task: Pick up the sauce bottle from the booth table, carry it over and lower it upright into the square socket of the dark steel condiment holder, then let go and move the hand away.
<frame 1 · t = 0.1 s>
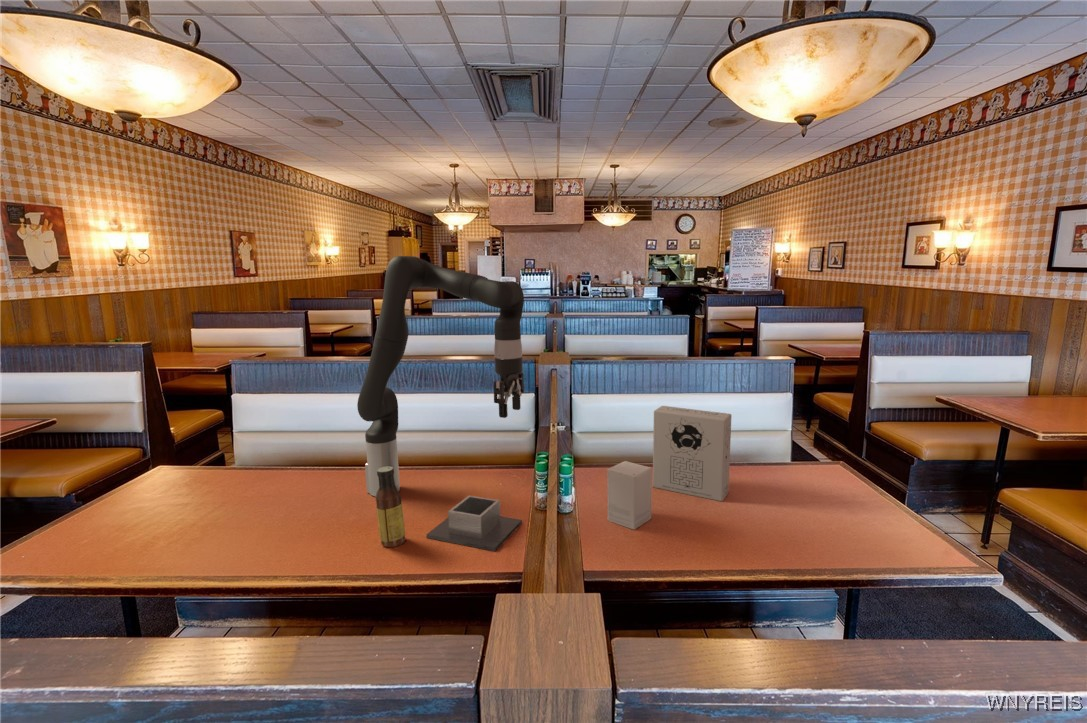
hand: (510, 413, 148), 29 cm above the table, tool pointing down, fingers open, 8 cm apart
condiment holder: (475, 530, 142), on the table
cereal box: (689, 490, 166), on the table
sauce bottle: (392, 543, 137), on the table
supplement box: (629, 520, 147), on the table
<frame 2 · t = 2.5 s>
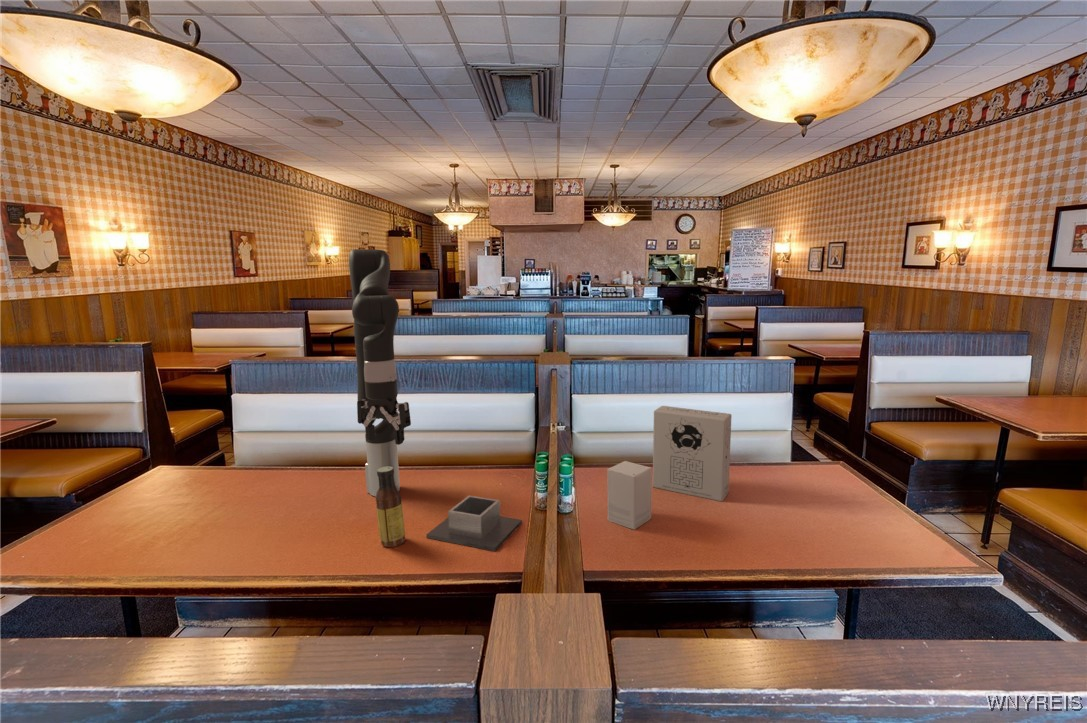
hand: (385, 442, 132), 27 cm above the table, tool pointing down, fingers open, 8 cm apart
nothing on the table moved.
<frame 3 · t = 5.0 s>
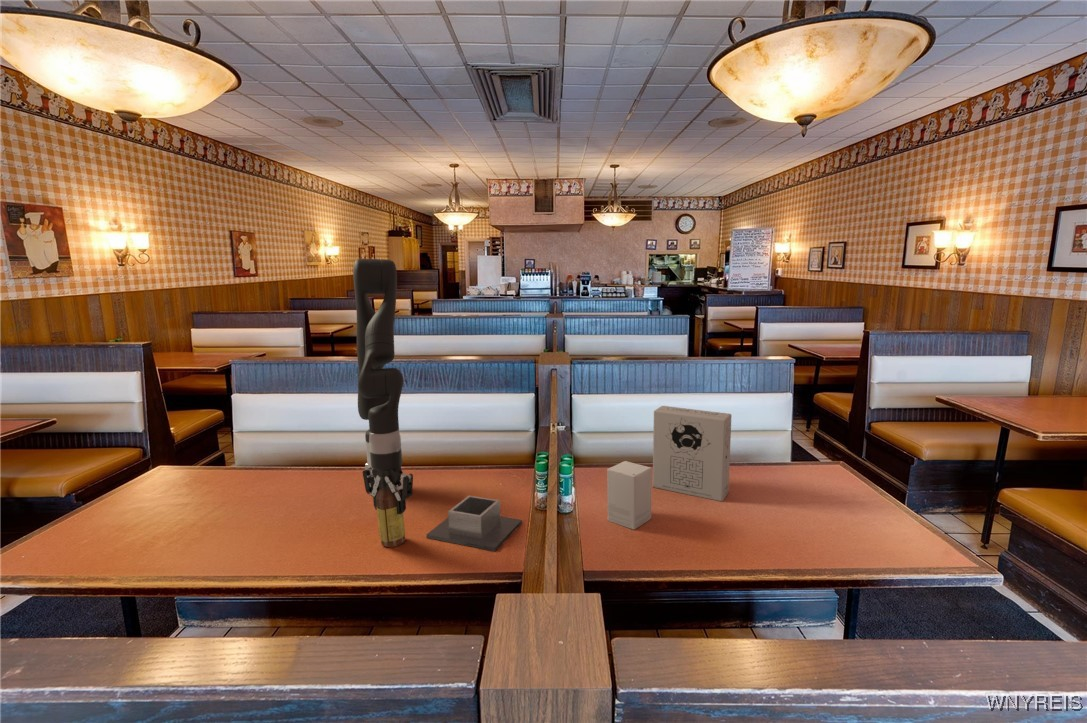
hand: (390, 510, 135), 9 cm above the table, tool pointing down, fingers closed on sauce bottle, 6 cm apart
sauce bottle: (392, 543, 137), on the table, touching gripper
everything else where it was.
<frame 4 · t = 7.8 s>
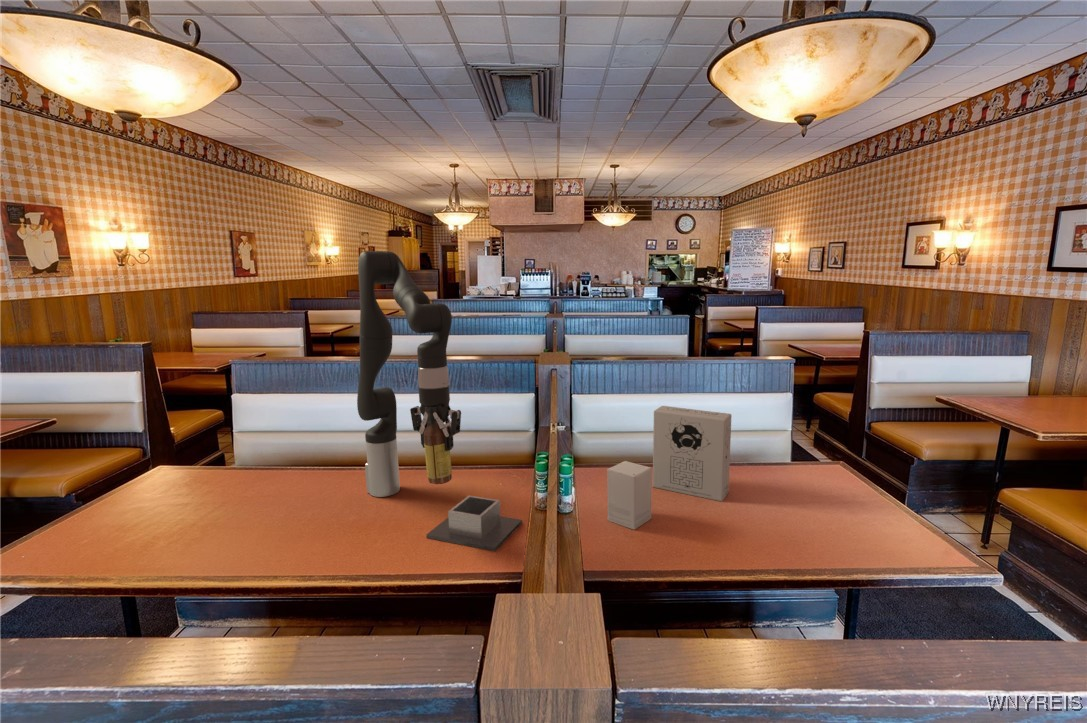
hand: (437, 448, 136), 24 cm above the table, tool pointing down, fingers closed on sauce bottle, 6 cm apart
sauce bottle: (439, 481, 137), point 15 cm above the table, touching gripper
everything else where it was.
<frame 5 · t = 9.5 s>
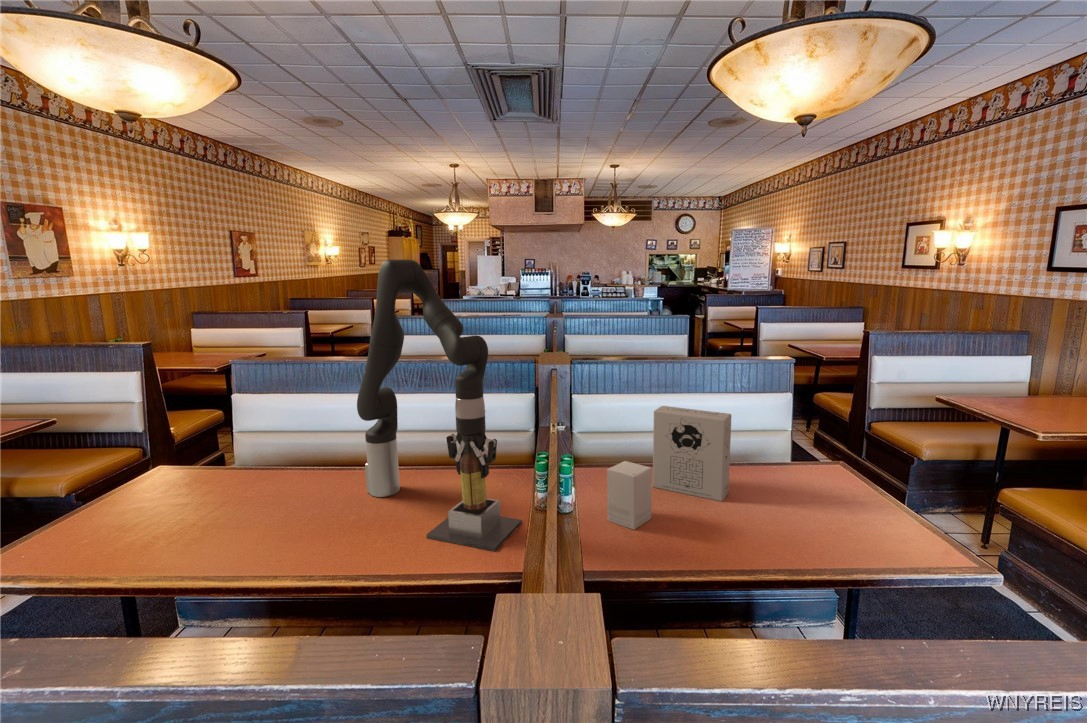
hand: (472, 475, 140), 15 cm above the table, tool pointing down, fingers closed on sauce bottle, 6 cm apart
sauce bottle: (474, 507, 141), point 7 cm above the table, touching gripper
everything else where it was.
when the fingers open (11 cm above the table, at t = 11.0 s): sauce bottle drops 1 cm, resting on condiment holder.
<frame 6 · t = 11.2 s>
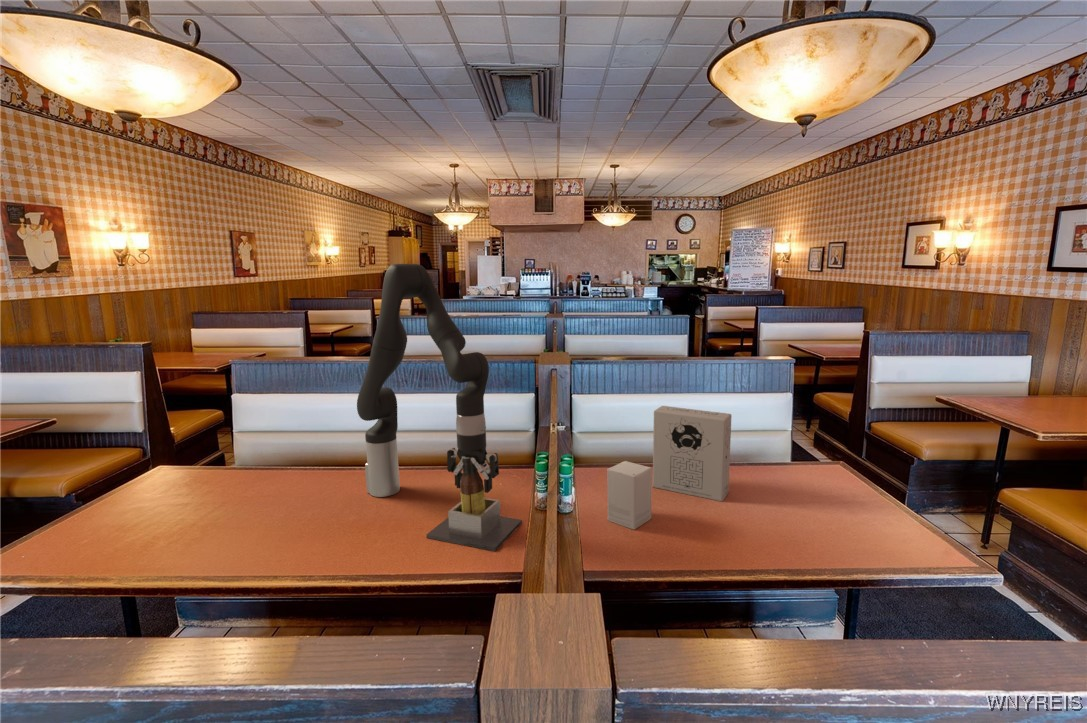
hand: (473, 489, 140), 12 cm above the table, tool pointing down, fingers open, 8 cm apart
sauce bottle: (474, 527, 142), point 1 cm above the table, touching condiment holder
everything else where it was.
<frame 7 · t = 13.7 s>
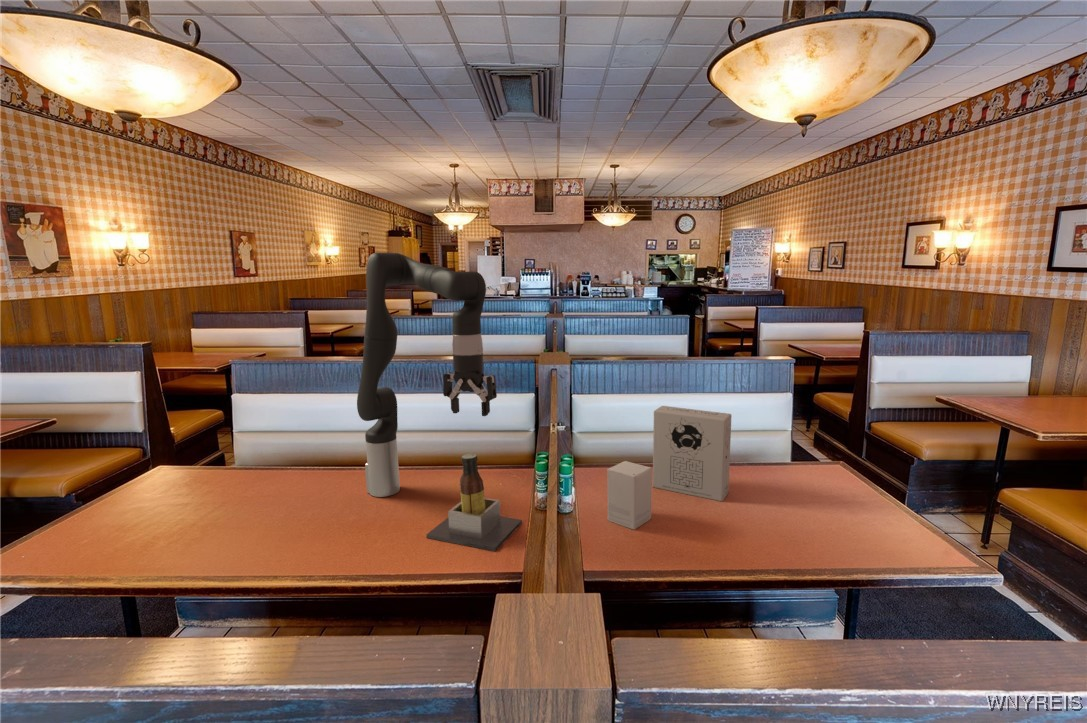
hand: (470, 414, 137), 32 cm above the table, tool pointing down, fingers open, 8 cm apart
nothing on the table moved.
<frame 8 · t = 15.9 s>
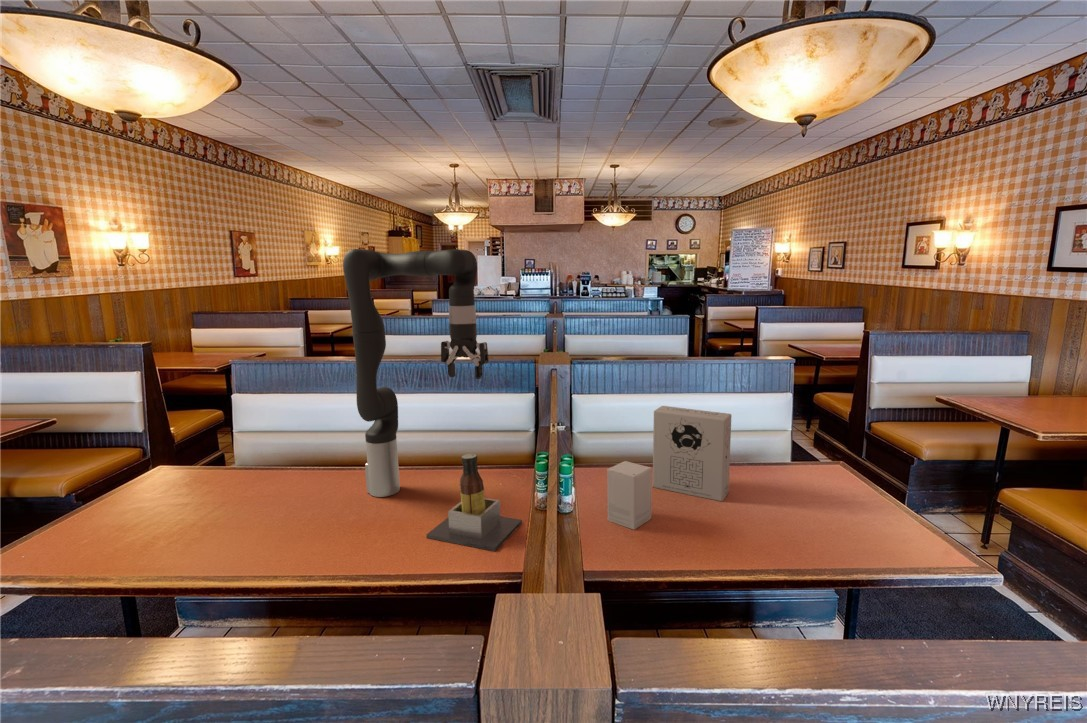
hand: (465, 377, 153), 38 cm above the table, tool pointing down, fingers open, 8 cm apart
nothing on the table moved.
at the end: sauce bottle 0.3 cm off-centre on the condiment holder, point 0.8 cm above the condiment holder's base; sauce bottle tilted 0°; the gripper is holding nothing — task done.
